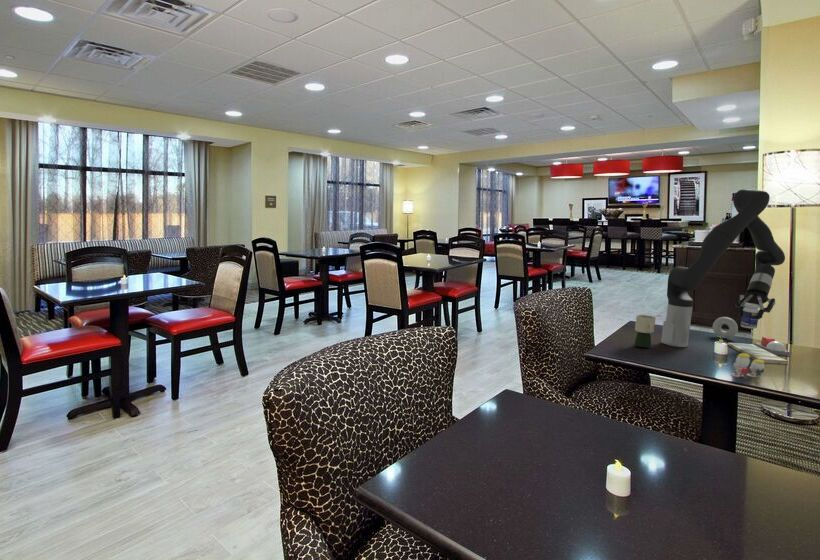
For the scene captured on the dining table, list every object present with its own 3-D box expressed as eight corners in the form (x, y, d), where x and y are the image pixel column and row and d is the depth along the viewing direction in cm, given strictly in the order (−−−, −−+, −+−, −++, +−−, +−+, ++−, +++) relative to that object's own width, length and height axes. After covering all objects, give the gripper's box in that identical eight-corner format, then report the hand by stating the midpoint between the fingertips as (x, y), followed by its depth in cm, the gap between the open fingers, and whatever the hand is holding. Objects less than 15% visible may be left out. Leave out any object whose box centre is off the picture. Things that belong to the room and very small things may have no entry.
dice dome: (789, 359, 196) (791, 344, 195) (770, 358, 196) (773, 343, 195) (770, 350, 207) (772, 336, 206) (753, 349, 208) (755, 335, 207)
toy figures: (756, 374, 171) (759, 351, 170) (766, 378, 167) (770, 355, 165) (725, 374, 169) (729, 351, 168) (735, 378, 165) (739, 355, 164)
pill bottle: (752, 329, 198) (755, 305, 197) (737, 326, 203) (740, 303, 202) (759, 328, 201) (763, 304, 199) (745, 325, 206) (748, 302, 204)
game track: (787, 364, 184) (788, 360, 184) (759, 362, 185) (760, 359, 185) (752, 346, 207) (752, 344, 206) (727, 345, 208) (727, 342, 207)
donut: (737, 340, 216) (740, 319, 215) (734, 341, 214) (738, 319, 213) (712, 335, 224) (715, 314, 222) (709, 336, 222) (713, 315, 220)
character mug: (657, 351, 194) (661, 320, 192) (640, 350, 194) (643, 319, 192) (644, 343, 205) (648, 313, 203) (627, 343, 205) (631, 313, 203)
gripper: (739, 278, 209) (728, 308, 203) (780, 282, 199) (770, 314, 193) (740, 288, 213) (729, 318, 207) (780, 294, 203) (770, 325, 197)
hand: (749, 316), depth 200 cm, fingers closed on pill bottle, 5 cm apart
